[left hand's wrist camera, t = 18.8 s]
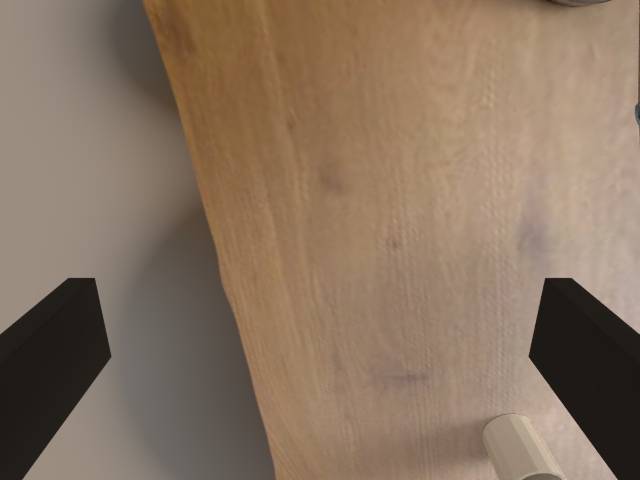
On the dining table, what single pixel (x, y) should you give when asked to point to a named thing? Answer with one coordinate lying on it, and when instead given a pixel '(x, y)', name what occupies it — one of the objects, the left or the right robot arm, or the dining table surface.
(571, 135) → the dining table surface
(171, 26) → the dining table surface
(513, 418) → the white cup
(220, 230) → the dining table surface
